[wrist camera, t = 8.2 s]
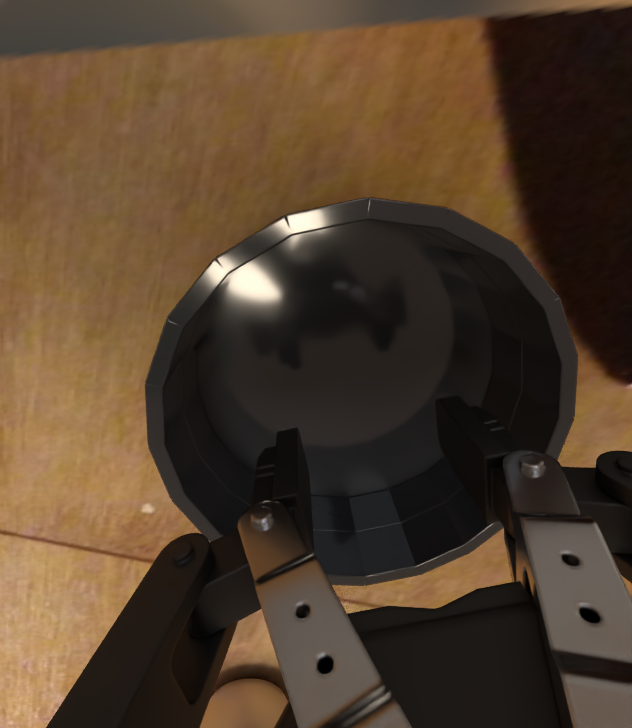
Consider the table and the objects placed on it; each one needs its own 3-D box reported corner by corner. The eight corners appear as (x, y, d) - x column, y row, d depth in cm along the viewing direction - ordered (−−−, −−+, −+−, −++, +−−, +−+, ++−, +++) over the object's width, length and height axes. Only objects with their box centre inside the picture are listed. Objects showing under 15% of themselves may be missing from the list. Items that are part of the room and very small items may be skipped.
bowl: (138, 247, 16) (66, 261, 11) (495, 170, 16) (592, 148, 11) (237, 520, 22) (220, 615, 16) (501, 467, 21) (567, 546, 16)
